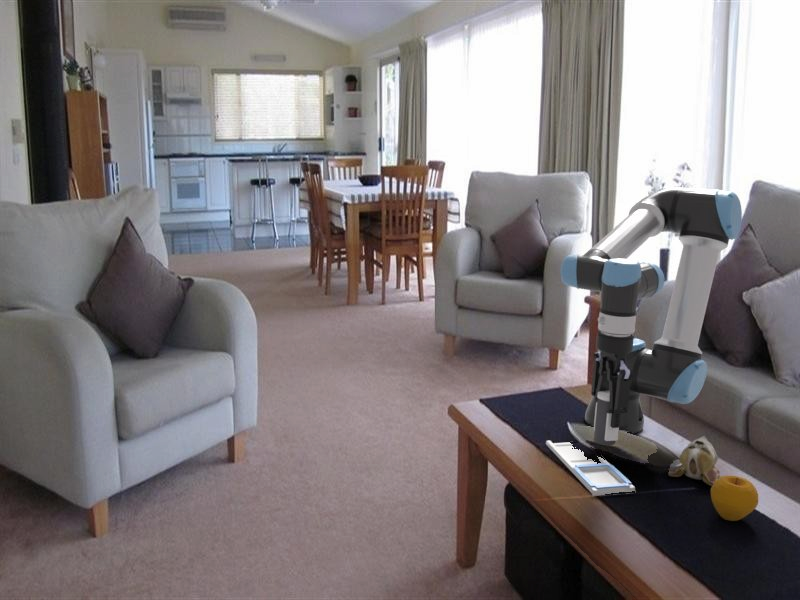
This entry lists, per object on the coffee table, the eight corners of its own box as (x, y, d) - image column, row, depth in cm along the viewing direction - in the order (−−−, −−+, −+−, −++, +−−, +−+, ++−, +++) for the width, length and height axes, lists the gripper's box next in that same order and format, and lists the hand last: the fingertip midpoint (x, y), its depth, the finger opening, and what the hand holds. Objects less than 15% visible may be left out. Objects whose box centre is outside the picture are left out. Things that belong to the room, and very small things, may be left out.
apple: (742, 535, 144) (749, 492, 142) (698, 516, 150) (704, 476, 148) (762, 520, 149) (768, 479, 147) (719, 503, 156) (724, 463, 154)
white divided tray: (582, 443, 184) (583, 437, 184) (635, 492, 159) (636, 485, 159) (545, 445, 182) (545, 439, 182) (592, 496, 157) (593, 489, 157)
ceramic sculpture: (729, 434, 170) (719, 461, 157) (725, 468, 172) (715, 498, 160) (680, 424, 175) (667, 450, 163) (677, 457, 177) (664, 485, 165)
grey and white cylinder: (609, 436, 165) (614, 390, 162) (619, 444, 160) (624, 397, 158) (589, 437, 164) (593, 391, 161) (599, 446, 159) (604, 398, 157)
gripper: (581, 322, 164) (572, 420, 169) (619, 344, 147) (608, 453, 152) (612, 321, 166) (602, 419, 171) (653, 343, 149) (641, 451, 154)
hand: (605, 435), depth 161 cm, fingers closed on grey and white cylinder, 5 cm apart
